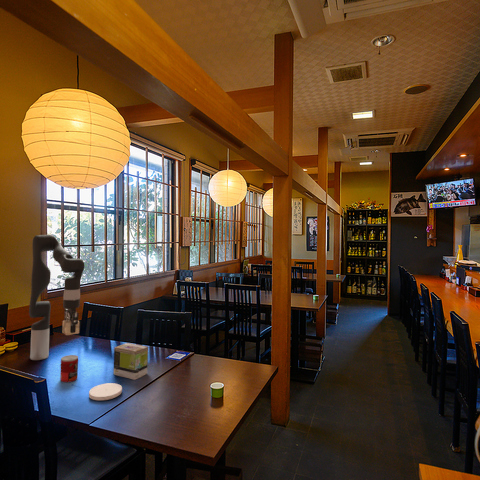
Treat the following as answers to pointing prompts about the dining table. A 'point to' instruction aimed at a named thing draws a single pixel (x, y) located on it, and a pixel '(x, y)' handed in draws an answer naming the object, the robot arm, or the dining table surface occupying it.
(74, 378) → the canned food
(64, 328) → the block
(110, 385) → the plastic lid
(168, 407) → the dining table surface
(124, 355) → the tea box
